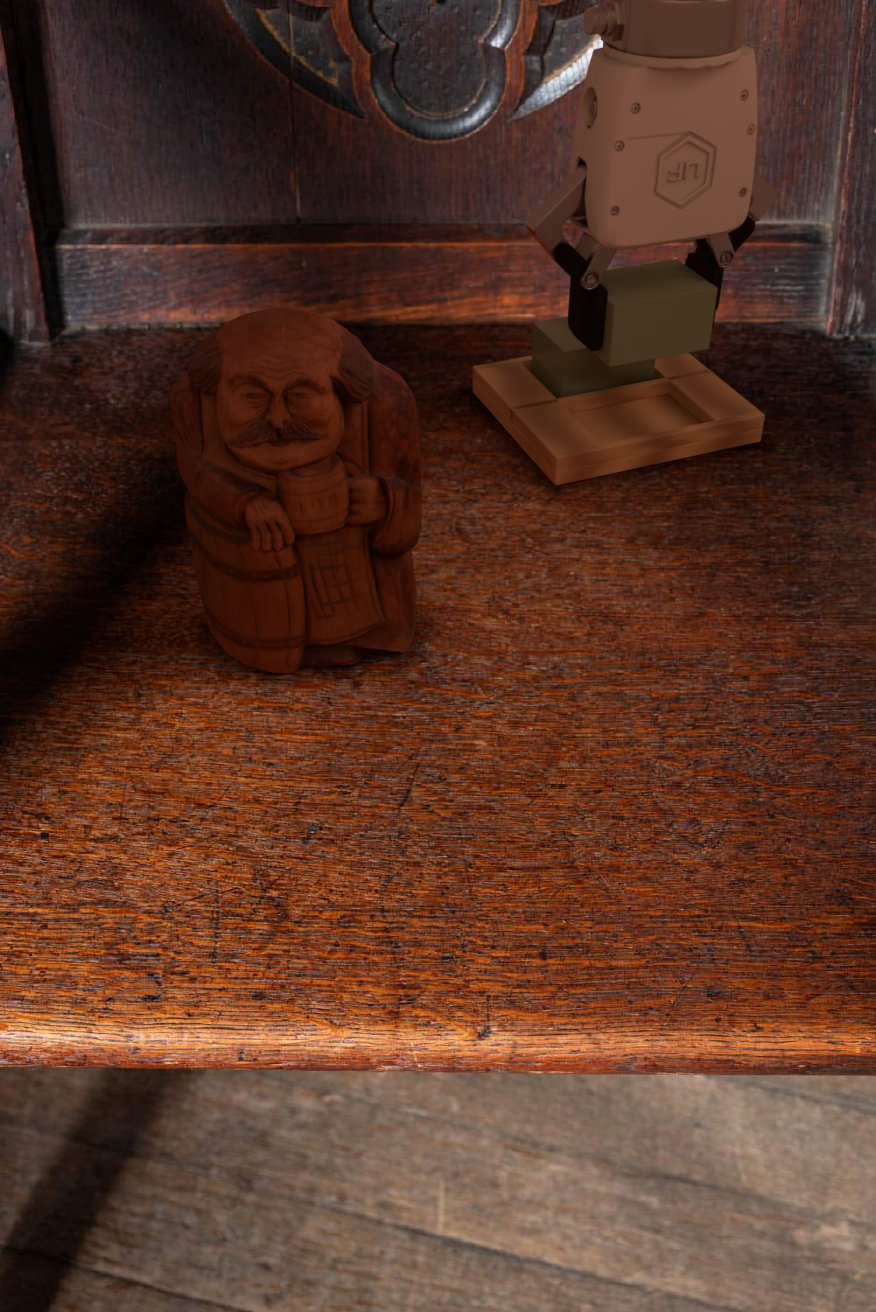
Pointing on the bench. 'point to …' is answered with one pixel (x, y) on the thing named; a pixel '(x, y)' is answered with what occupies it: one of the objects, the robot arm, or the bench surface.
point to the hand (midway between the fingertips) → (642, 330)
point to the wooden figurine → (299, 491)
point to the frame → (610, 407)
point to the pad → (655, 312)
